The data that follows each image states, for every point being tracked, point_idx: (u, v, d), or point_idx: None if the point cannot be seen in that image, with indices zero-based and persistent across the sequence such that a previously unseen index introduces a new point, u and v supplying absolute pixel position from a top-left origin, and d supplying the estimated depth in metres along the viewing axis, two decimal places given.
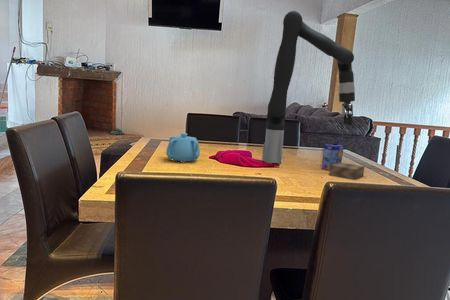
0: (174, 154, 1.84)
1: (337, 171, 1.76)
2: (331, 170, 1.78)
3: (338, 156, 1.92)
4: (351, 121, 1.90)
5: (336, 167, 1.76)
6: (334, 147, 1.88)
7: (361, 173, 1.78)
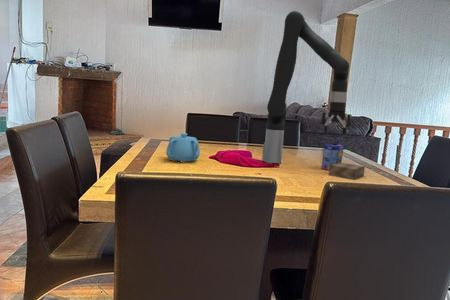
0: (174, 154, 1.84)
1: (337, 171, 1.76)
2: (331, 170, 1.78)
3: (338, 156, 1.92)
4: None
5: (336, 167, 1.76)
6: (334, 147, 1.88)
7: (361, 173, 1.77)
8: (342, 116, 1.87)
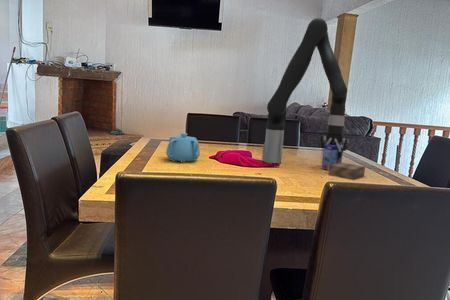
0: (174, 154, 1.84)
1: (336, 171, 1.76)
2: (330, 170, 1.78)
3: None
4: None
5: (335, 167, 1.77)
6: (334, 147, 1.88)
7: (361, 173, 1.77)
8: (340, 140, 1.89)
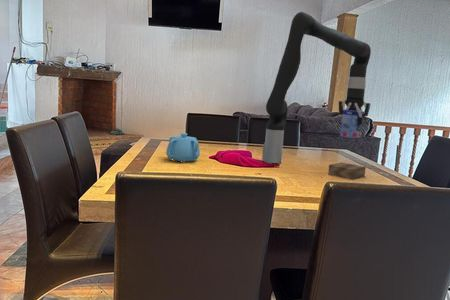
0: (174, 154, 1.84)
1: (336, 171, 1.77)
2: (330, 170, 1.79)
3: None
4: None
5: (335, 167, 1.77)
6: (354, 112, 1.72)
7: (361, 173, 1.77)
8: (360, 104, 1.72)
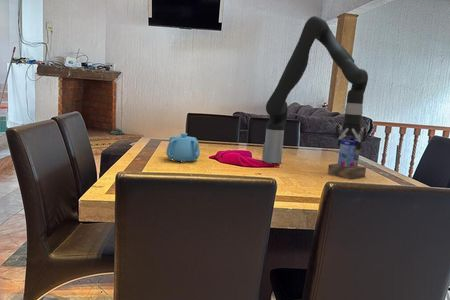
0: (174, 154, 1.84)
1: (335, 170, 1.77)
2: (329, 169, 1.79)
3: (355, 152, 1.77)
4: None
5: (334, 167, 1.77)
6: (352, 142, 1.73)
7: (360, 173, 1.76)
8: (357, 130, 1.74)
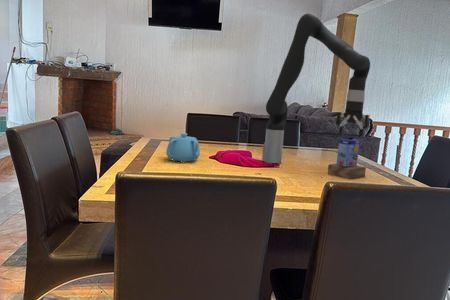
0: (174, 154, 1.84)
1: (335, 170, 1.77)
2: (329, 169, 1.79)
3: (354, 151, 1.77)
4: None
5: (334, 167, 1.77)
6: (350, 141, 1.74)
7: (360, 173, 1.76)
8: (359, 116, 1.73)
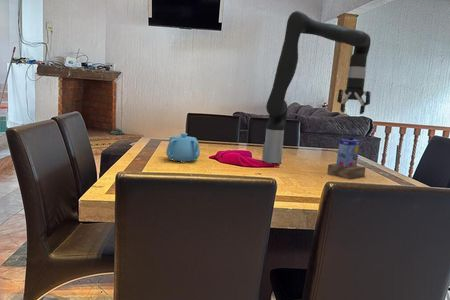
0: (174, 154, 1.84)
1: (334, 170, 1.77)
2: (329, 169, 1.79)
3: (354, 152, 1.77)
4: None
5: (333, 167, 1.78)
6: (351, 142, 1.73)
7: (360, 173, 1.76)
8: (360, 93, 1.74)
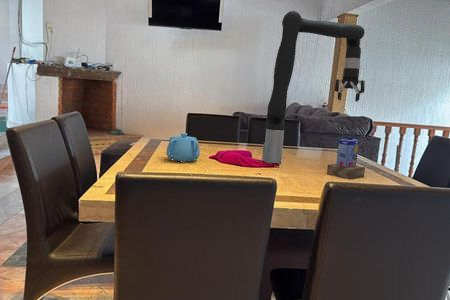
0: (174, 154, 1.84)
1: (334, 171, 1.77)
2: (328, 169, 1.79)
3: (354, 152, 1.77)
4: None
5: (333, 167, 1.77)
6: (350, 142, 1.74)
7: (359, 173, 1.76)
8: (355, 82, 1.90)
